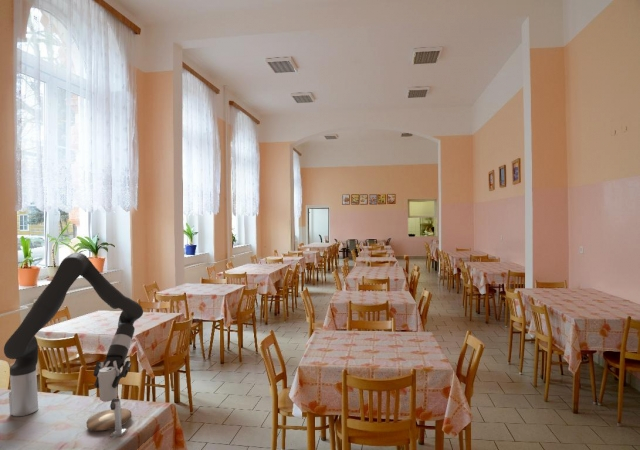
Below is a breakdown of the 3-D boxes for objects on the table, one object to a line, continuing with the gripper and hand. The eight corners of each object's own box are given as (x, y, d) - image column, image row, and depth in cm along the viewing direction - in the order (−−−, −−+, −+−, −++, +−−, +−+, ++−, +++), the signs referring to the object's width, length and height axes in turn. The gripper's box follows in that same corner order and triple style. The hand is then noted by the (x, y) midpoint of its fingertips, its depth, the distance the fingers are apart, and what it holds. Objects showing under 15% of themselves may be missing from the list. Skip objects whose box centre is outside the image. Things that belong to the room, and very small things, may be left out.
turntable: (77, 430, 163) (77, 427, 163) (101, 411, 179) (101, 408, 179) (118, 430, 162) (118, 427, 162) (138, 410, 178) (138, 408, 178)
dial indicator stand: (110, 437, 160) (108, 402, 160) (117, 430, 165) (115, 396, 165) (121, 436, 160) (119, 402, 160) (127, 430, 165) (126, 396, 164)
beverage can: (110, 402, 167) (108, 372, 166) (96, 402, 168) (94, 371, 167) (121, 395, 173) (119, 366, 172) (107, 395, 174) (105, 365, 174)
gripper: (98, 344, 178) (83, 383, 166) (132, 343, 177) (119, 383, 165) (106, 352, 183) (92, 391, 172) (139, 351, 182) (127, 391, 171)
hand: (105, 387), depth 168 cm, fingers closed on beverage can, 6 cm apart
